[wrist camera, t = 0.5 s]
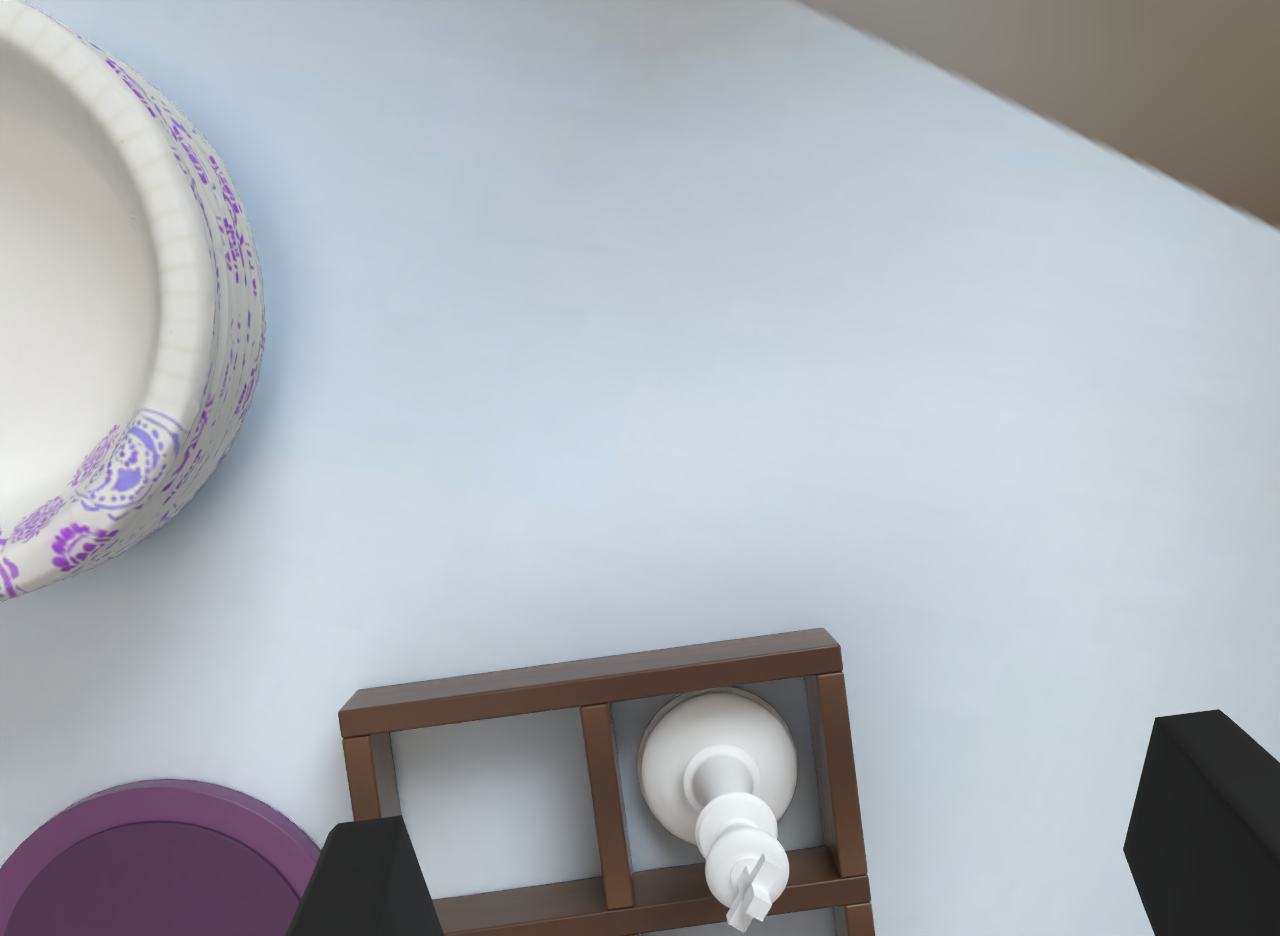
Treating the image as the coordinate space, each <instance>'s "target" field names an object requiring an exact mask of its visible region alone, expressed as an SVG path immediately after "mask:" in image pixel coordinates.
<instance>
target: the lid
mask: <svg viewBox="0 0 1280 936" xmlns="http://www.w3.org/2000/svg"><path fill="white" fill-rule="evenodd" d="M320 854H321V850H320V849H319V848H318V847H317V846H316V845H315V844H314V843H313V842H312V840H311V839H310V838H309V837H308V836H307V835H306V834H305V833H304V832H303V831H302V830H300V829H299V828H298V827H297V826H296V825H294V824H293V823H292V822H291V821H290V820H289V819H287V818H286V817H285V816H283V815H282V814H280V813H278V812H277V811H275V810H274V809H272V808H271V807H269V806H267V805H266V804H264V803H262V802H260V801H258V800H256V799H254V798H251V797H249V796H247V795H245V794H243V793H240V792H237V791H234V790H231V789H228V788H225V787H222V786H219V785H214V784H208V783H203V782H198V781H191V780H174V779H163V780H149V781H140V782H135V783H130V784H125V785H120V786H116V787H113V788H110V789H107V790H104V791H101V792H99V793H96V794H93V795H91V796H89V797H87V798H85V799H83V800H81V801H79V802H77V803H75V804H73V805H71V806H70V807H68V808H67V809H65V810H64V811H62V812H61V813H59V814H58V815H56V816H55V817H53V818H52V819H50V820H49V821H48V822H46V823H45V824H44V825H42V826H41V827H40V828H38V829H37V830H36V831H35V832H34V833H33V834H32V835H30V836H29V837H28V838H27V839H26V840H25V841H24V842H22V843H21V844H20V846H19V847H18V848H17V849H16V850H15V851H14V852H13V854H12V855H11V856H10V857H9V858H8V859H7V860H6V862H5V863H4V864H3V866H2V867H1V869H0V936H285V934H286V932H287V930H288V927H289V925H290V923H291V921H292V919H293V916H294V914H295V912H296V910H297V907H298V905H299V903H300V901H301V898H302V896H303V894H304V892H305V889H306V887H307V885H308V882H309V880H310V878H311V875H312V873H313V871H314V868H315V866H316V864H317V861H318V859H319V856H320Z"/></svg>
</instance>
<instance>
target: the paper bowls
mask: <svg viewBox="0 0 1280 936" xmlns="http://www.w3.org/2000/svg"><path fill="white" fill-rule="evenodd" d="M265 330H266V322H265V307H264V295H263V280H262V273H261V267H260V263H259V258H258V254H257V250H256V247H255V242H254V238H253V232H252V230H251V227H250V225H249V221H248V218H247V215H246V212H245V209H244V206H243V204H242V201H241V199H240V197H239V195H238V193H237V191H236V188H235V186H234V184H233V182H232V180H231V178H230V176H229V174H228V172H227V170H226V168H225V166H224V164H223V162H222V160H221V159H220V157H219V156H218V154H217V153H216V152H215V150H214V149H213V148H212V146H211V145H210V144H209V142H208V141H207V140H206V139H205V137H204V136H203V135H202V133H201V132H200V131H199V130H198V129H197V128H196V127H195V126H194V125H193V124H192V123H191V122H190V121H189V120H188V118H187V117H186V116H185V115H184V114H183V113H182V112H181V111H180V110H179V109H178V108H177V107H176V106H175V105H174V104H173V103H172V102H171V101H170V100H169V99H167V98H166V97H165V96H164V95H163V94H161V93H160V92H159V90H158V89H157V88H155V87H154V86H152V85H151V84H150V83H149V82H148V81H146V80H145V79H144V78H143V77H142V76H141V75H139V74H138V73H137V72H135V71H134V70H133V69H131V68H130V67H129V66H127V65H126V64H124V63H123V62H121V61H120V60H118V59H117V58H115V57H114V56H113V55H111V54H109V53H108V52H107V51H105V50H104V49H102V48H101V47H100V46H98V45H97V44H95V43H94V42H92V41H90V40H88V39H87V38H85V37H83V36H82V35H80V34H78V33H77V32H75V31H73V30H71V29H70V28H68V27H67V26H65V25H64V24H63V23H61V22H60V21H59V20H57V19H56V18H54V17H53V16H52V15H50V14H48V13H46V12H45V11H43V10H41V9H39V8H37V7H36V6H34V5H32V4H30V3H28V2H26V1H24V0H0V602H3V601H6V600H8V599H12V598H15V597H18V596H20V595H23V594H26V593H29V592H32V591H35V590H38V589H40V588H43V587H45V586H48V585H50V584H52V583H54V582H57V581H60V580H64V579H66V578H69V577H71V576H74V575H77V574H79V573H81V572H84V571H86V570H89V569H91V568H93V567H95V566H97V565H99V564H101V563H103V562H105V561H107V560H109V559H111V558H114V557H116V556H118V555H119V554H121V553H123V552H124V551H126V550H127V549H129V548H130V547H132V546H134V545H136V544H138V543H140V542H141V541H143V540H145V539H146V538H148V537H149V535H151V534H153V533H154V532H156V531H158V530H159V529H160V528H161V527H162V526H163V525H164V524H165V523H166V522H167V521H169V520H170V519H171V518H173V517H174V516H175V515H176V514H178V513H179V512H180V511H181V510H182V508H183V507H184V505H185V504H186V503H187V502H189V501H190V500H192V499H193V497H194V496H195V494H196V492H197V490H198V489H199V488H200V487H201V486H203V485H204V484H205V483H206V481H207V480H208V478H209V477H210V476H211V474H212V473H213V471H214V470H215V469H216V467H217V466H218V465H219V463H220V462H221V460H222V459H223V458H224V457H225V455H226V453H227V451H228V450H229V449H230V448H231V446H232V443H233V441H234V438H235V436H236V434H237V432H238V430H239V429H240V427H241V425H242V423H243V418H244V416H245V414H246V412H247V410H248V408H249V406H250V403H251V400H252V396H253V392H254V389H255V386H256V384H257V381H258V377H259V369H260V365H261V361H262V353H263V350H264V347H263V344H264V342H265V337H264V336H263V335H264V333H265Z"/></svg>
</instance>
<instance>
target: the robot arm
mask: <svg viewBox="0 0 1280 936" xmlns="http://www.w3.org/2000/svg"><path fill="white" fill-rule="evenodd" d="M1123 851H1124V853H1125V856H1126V859H1127V862H1128V864H1129V867H1130V870H1131V873H1132V875H1133V878H1134V881H1135V884H1136V886H1137V889H1138V892H1139V895H1140V897H1141V900H1142V903H1143V906H1144V908H1145V911H1146V913H1147V916H1148V918H1149V921H1150V924H1151V926H1152V929H1153V931H1154V934H1155V936H1280V763H1279V762H1278V761H1277V760H1276V759H1275V758H1274V757H1273V756H1272V755H1270V754H1269V753H1268V752H1267V751H1266V750H1265V749H1264V748H1263V747H1262V746H1260V745H1259V744H1258V743H1257V742H1256V741H1255V740H1254V739H1253V738H1251V737H1250V736H1249V735H1248V734H1247V733H1246V732H1245V731H1244V730H1242V729H1241V728H1240V727H1239V726H1238V725H1237V724H1236V723H1235V722H1233V721H1232V720H1231V719H1230V718H1229V717H1228V716H1227V715H1225V714H1224V713H1223V712H1222V711H1220V710H1219V709H1218V710H1210V711H1203V712H1195V713H1187V714H1179V715H1172V716H1164V717H1156V718H1155V721H1154V725H1153V729H1152V733H1151V738H1150V742H1149V746H1148V750H1147V754H1146V758H1145V762H1144V766H1143V770H1142V774H1141V778H1140V783H1139V787H1138V791H1137V795H1136V799H1135V803H1134V807H1133V811H1132V815H1131V819H1130V823H1129V827H1128V832H1127V836H1126V840H1125V844H1124V848H1123ZM285 936H444V933H443V930H442V928H441V925H440V922H439V919H438V916H437V914H436V911H435V908H434V905H433V902H432V899H431V897H430V894H429V891H428V888H427V885H426V883H425V880H424V877H423V874H422V871H421V869H420V866H419V863H418V860H417V857H416V854H415V852H414V849H413V846H412V843H411V840H410V838H409V835H408V832H407V829H406V826H405V824H404V821H403V818H402V815H401V816H393V817H385V818H377V819H370V820H362V821H354V822H347V823H339V824H337V825H336V826H335V827H334V828H333V829H332V830H331V831H330V832H329V834H328V837H327V839H326V842H325V844H324V846H323V849H322V851H321V854H320V856H319V859H318V861H317V864H316V866H315V868H314V871H313V873H312V875H311V878H310V880H309V882H308V885H307V887H306V889H305V892H304V894H303V896H302V898H301V901H300V903H299V905H298V907H297V910H296V912H295V914H294V916H293V919H292V921H291V923H290V925H289V927H288V930H287V932H286V934H285Z"/></svg>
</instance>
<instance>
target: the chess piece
mask: <svg viewBox="0 0 1280 936" xmlns="http://www.w3.org/2000/svg"><path fill="white" fill-rule="evenodd" d="M637 773H638V780H639V785H640V788H641V791H642V794H643V796H644V799H645V801H646V803H647V804H648V806H649V808H650V810H651V812H652V813H653V815H654V816H655V817H656V819H657V820H658V821H659V822H660V823H661V824H662V825H663V826H664V827H665V828H666V829H667V830H668V831H669V832H671V833H672V834H673V835H675V836H676V837H678V838H680V839H682V840H684V841H686V842H688V843H691V844H694V845H697V846H698V848H699V851H700V852H701V854H702V856H703V857H704V858H705V859H706V864H705V876H706V881H707V884H708V887H709V889H710V890H711V892H712V894H713V895H714V896H715V898H716V899H717V900H718V901H719V902H721V903H722V904H723V905H725V906H727V907H729V908H730V909H729V911H728V913H727V915H726V917H727V921H728V924H729V925H731V926H733V927H735V928H737V929H738V930H740V931H742V932H744V933H745V932H746V930H747V928H748V926H749V925H750V923H751V921H752V920H753V918H756V919H758V920H759V921H761V922H762V921H763V920H764V918H765V916H766V915H767V913H768V911H769V910H770V908H771V906H772V903H773V902H774V901H776V900H777V899H778V898H779V896H780V895H781V894H782V892H783V891H784V889H785V887H786V884H787V882H788V878H789V862H788V858H787V855H786V852H785V850H784V848H783V847H782V845H781V844H780V843H779V842H778V840H777V834H778V829H777V822H778V821H779V820H780V818H781V817H782V816H783V814H784V813H785V811H786V810H787V808H788V806H789V804H790V802H791V800H792V797H793V795H794V791H795V788H796V783H797V774H798V766H797V753H796V747H795V743H794V740H793V737H792V735H791V732H790V730H789V728H788V726H787V725H786V723H785V721H784V720H783V719H782V717H781V716H780V715H779V713H778V712H777V711H776V710H775V709H774V708H773V707H772V706H771V705H769V704H768V703H767V702H766V701H764V700H763V699H761V698H760V697H758V696H756V695H754V694H752V693H750V692H747V691H745V690H742V689H738V688H734V687H721V688H714V689H706V690H699V691H691V692H686V693H684V694H682V695H680V696H678V697H676V698H675V699H673V700H672V701H670V702H669V703H668V704H666V705H665V706H664V707H663V708H662V709H661V710H660V711H659V712H658V713H657V714H656V715H655V717H654V718H653V719H652V721H651V722H650V724H649V725H648V727H647V729H646V731H645V733H644V735H643V738H642V740H641V743H640V747H639V752H638V759H637Z"/></svg>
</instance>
